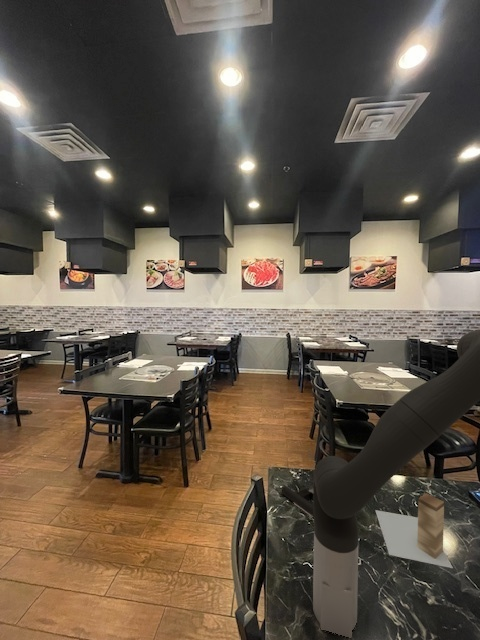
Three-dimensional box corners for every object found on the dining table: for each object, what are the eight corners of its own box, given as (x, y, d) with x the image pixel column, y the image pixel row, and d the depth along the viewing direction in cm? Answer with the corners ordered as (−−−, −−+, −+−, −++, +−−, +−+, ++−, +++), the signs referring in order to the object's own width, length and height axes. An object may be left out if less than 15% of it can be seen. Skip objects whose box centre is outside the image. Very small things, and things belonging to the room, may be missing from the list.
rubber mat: (453, 570, 72) (453, 568, 72) (389, 556, 76) (389, 554, 76) (426, 520, 89) (426, 518, 89) (375, 511, 93) (375, 510, 93)
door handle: (308, 475, 110) (279, 487, 101) (354, 503, 94) (325, 521, 85) (307, 483, 110) (278, 496, 101) (354, 513, 94) (324, 531, 85)
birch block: (442, 551, 77) (444, 501, 77) (435, 559, 75) (436, 507, 74) (425, 540, 81) (426, 493, 80) (417, 547, 78) (418, 498, 78)
